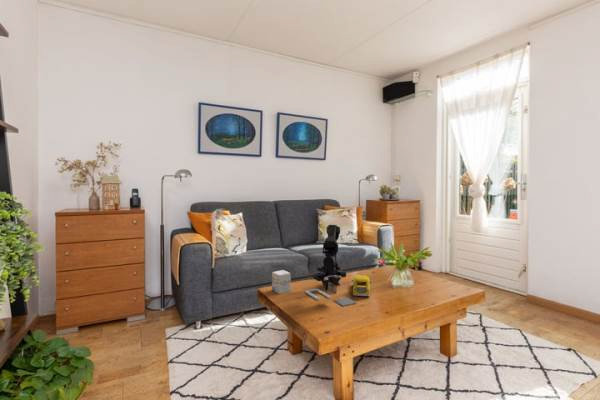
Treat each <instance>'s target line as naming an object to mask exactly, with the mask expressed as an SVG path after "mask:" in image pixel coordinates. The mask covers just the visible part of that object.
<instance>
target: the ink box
mask: <svg viewBox="0 0 600 400" xmlns="http://www.w3.org/2000/svg"><path fill="white" fill-rule="evenodd" d="M291 274H292V273H291V272H288V271H286V270H285V269H282V270H276V271H272V273H271V284H272V285H271V291H272V292H274V293H277V294H279V295H282V294H285V293H289V292H291V285H292V284H291V278H292V276H291Z"/></svg>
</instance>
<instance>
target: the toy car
mask: <svg viewBox="0 0 600 400" xmlns="http://www.w3.org/2000/svg"><path fill="white" fill-rule="evenodd" d="M351 282H353V284H352V286H353V287H352V295H353V296H358V297H359V296H360V297H370V295H371V288H370V287H371V285H370V284H371V283H372V281H371V280H370V277H368V276H367V275H361V274H360V275H359V274H358V275H354V276H353V280H352V279H351Z"/></svg>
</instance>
